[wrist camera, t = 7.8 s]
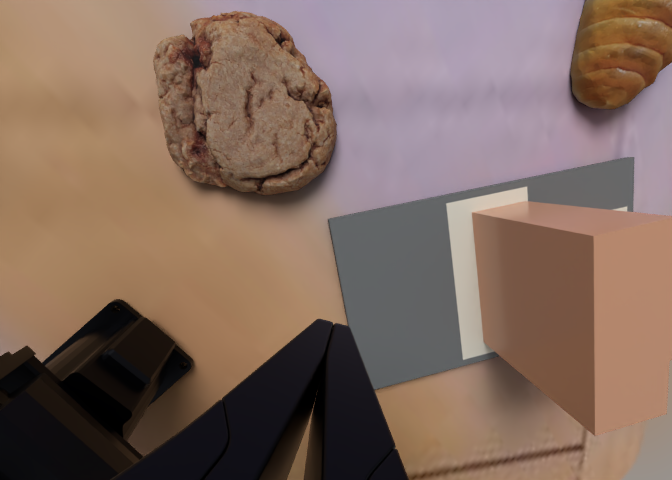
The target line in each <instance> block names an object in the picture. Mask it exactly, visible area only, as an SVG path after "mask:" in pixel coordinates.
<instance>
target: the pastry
mask: <svg viewBox="0 0 672 480" xmlns="http://www.w3.org/2000/svg"><path fill="white" fill-rule="evenodd" d="M671 62H672V0H585V4H584V8H583V12H582V15H581V17H580V25H579V28H578V31H577V35H576V42H575V47H574V52H573V57H572V63H571V72H570V74H571V78H572V92H573V94H574V95H575V97H576V98H577V100H578V101H579V102H581V103H583V104H585V105H586V106H588V107H591V108H603V109H616V108H618V107H620V106H622V105H625V104H628V103H629V102H630V101H631V100H632V99H633V98H635V96H636V95H637V94H639V93H640V92H641V91H642V90H643V89H644V88H646V87H648V86H650V85H651V84H653V83H654V81H655V79H656V76H657V74H658V72H659V71H661V70H662V69H663V68H665V67H666V66H667V65H669V64H670V63H671Z"/></svg>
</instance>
